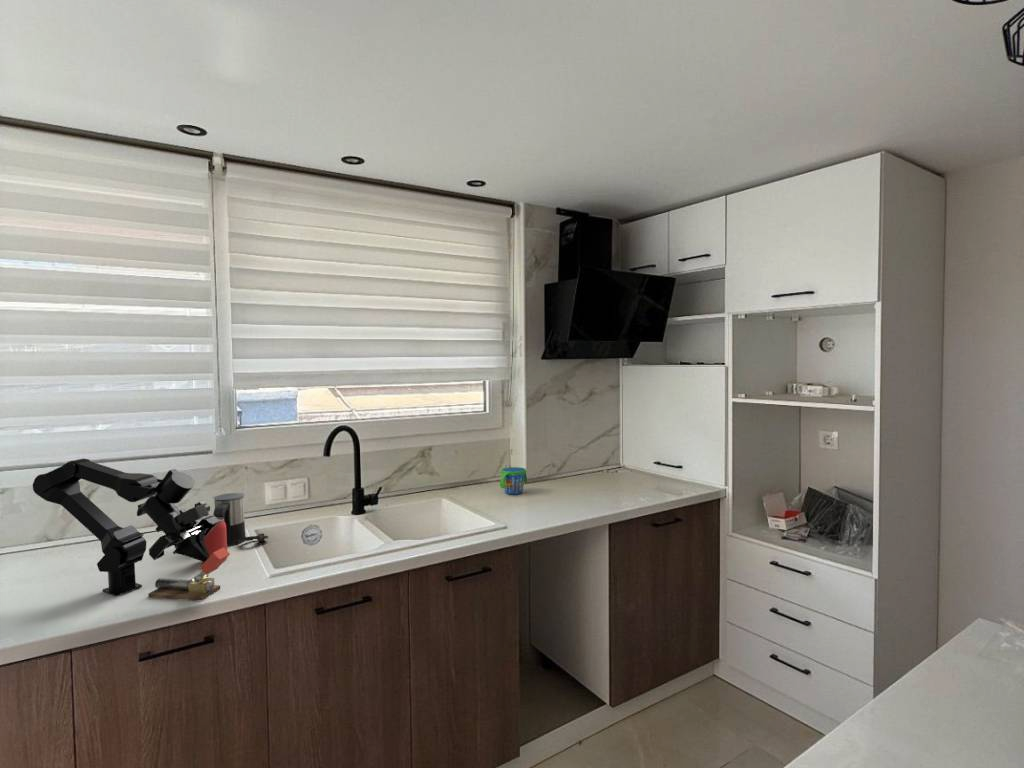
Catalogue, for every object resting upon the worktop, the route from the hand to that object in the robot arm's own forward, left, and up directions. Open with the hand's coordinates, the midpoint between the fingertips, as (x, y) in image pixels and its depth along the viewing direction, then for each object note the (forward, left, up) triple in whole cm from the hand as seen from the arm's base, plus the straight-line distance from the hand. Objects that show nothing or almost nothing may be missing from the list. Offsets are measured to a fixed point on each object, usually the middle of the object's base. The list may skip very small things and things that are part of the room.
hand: (208, 560), depth 142 cm
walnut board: (-6, -2, -9) cm, 11 cm away
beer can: (-21, +16, -9) cm, 28 cm away
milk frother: (-29, +30, -9) cm, 43 cm away
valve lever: (-2, -1, -4) cm, 5 cm away
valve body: (-6, -2, -8) cm, 10 cm away
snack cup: (+19, +125, -9) cm, 126 cm away
